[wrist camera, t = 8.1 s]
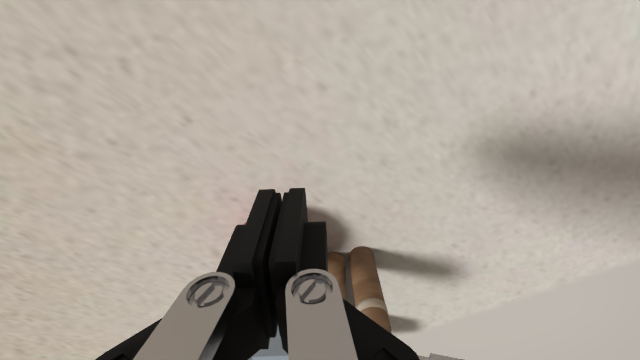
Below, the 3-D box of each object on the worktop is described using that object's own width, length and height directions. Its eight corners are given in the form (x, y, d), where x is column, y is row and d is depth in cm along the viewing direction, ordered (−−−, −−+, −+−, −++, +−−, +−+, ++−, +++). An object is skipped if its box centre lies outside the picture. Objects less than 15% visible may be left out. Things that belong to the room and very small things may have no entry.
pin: (373, 245, 30) (393, 319, 23) (373, 265, 31) (391, 342, 24) (348, 246, 30) (358, 321, 23) (348, 266, 31) (358, 344, 24)
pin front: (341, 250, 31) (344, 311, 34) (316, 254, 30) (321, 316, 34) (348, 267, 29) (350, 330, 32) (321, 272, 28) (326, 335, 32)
